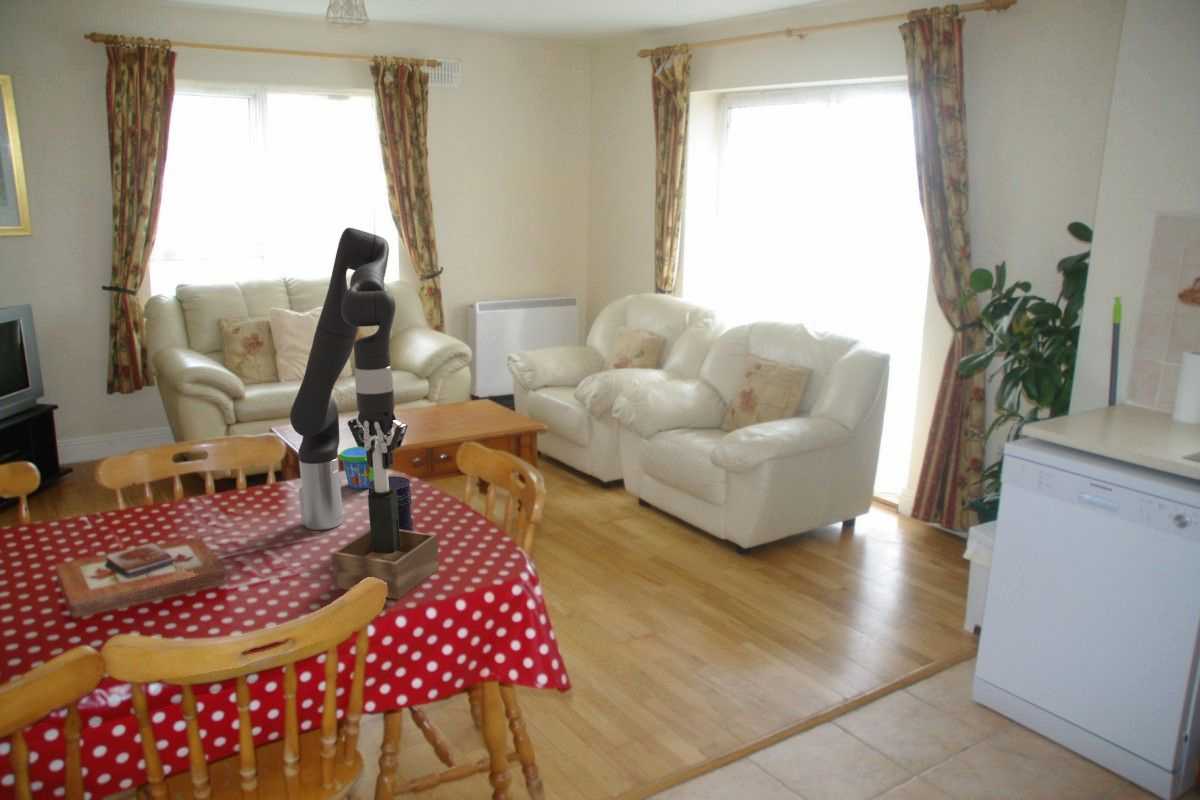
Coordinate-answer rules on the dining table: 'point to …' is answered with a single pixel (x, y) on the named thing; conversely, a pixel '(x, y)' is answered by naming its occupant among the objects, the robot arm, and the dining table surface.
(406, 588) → the peg box
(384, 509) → the candle
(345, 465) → the snack cup
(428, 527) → the dining table surface
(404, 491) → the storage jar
